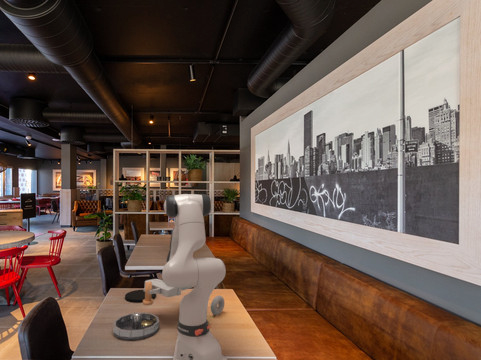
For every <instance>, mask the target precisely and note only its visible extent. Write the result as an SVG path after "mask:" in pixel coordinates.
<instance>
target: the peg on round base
mask: <svg viewBox="0 0 481 360" xmlns="http://www.w3.org/2000/svg"><path fill="white" fill-rule="evenodd" d="M144 288H145V299H144V300H143V303H142V305H144V306H151V305H153V304H154V300H153V299H151V297H152V294H149V290H151V289H152V282H146V284H145V283H144Z"/></svg>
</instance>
